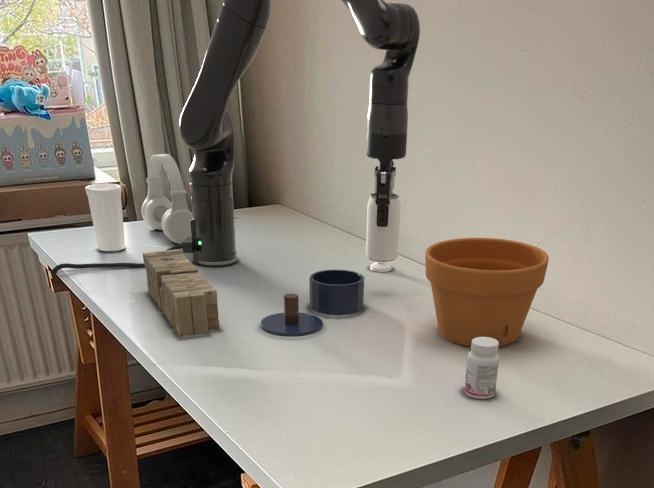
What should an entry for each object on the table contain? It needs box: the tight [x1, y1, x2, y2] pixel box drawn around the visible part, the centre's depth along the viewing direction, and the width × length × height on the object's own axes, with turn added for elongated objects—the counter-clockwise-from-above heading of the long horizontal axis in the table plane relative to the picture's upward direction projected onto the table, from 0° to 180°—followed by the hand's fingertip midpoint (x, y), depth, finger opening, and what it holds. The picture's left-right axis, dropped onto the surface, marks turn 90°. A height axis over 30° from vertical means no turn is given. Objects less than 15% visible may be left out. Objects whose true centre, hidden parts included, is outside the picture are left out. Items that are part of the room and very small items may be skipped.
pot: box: [308, 269, 365, 316], centre depth 150 cm, size 10×10×6 cm
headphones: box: [140, 153, 193, 245], centre depth 193 cm, size 20×8×19 cm, turn 31°
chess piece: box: [369, 261, 393, 273], centre depth 174 cm, size 5×5×10 cm
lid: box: [259, 293, 324, 337], centre depth 141 cm, size 11×11×6 cm
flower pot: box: [424, 237, 550, 348], centre depth 138 cm, size 21×21×15 cm
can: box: [365, 192, 401, 263], centre depth 153 cm, size 6×6×12 cm
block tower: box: [142, 249, 220, 337], centre depth 147 cm, size 8×8×29 cm
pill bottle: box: [463, 337, 500, 400], centre depth 117 cm, size 5×5×8 cm
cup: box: [84, 183, 126, 252], centre depth 182 cm, size 8×8×14 cm
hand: (383, 221), depth 152 cm, fingers closed on can, 6 cm apart
